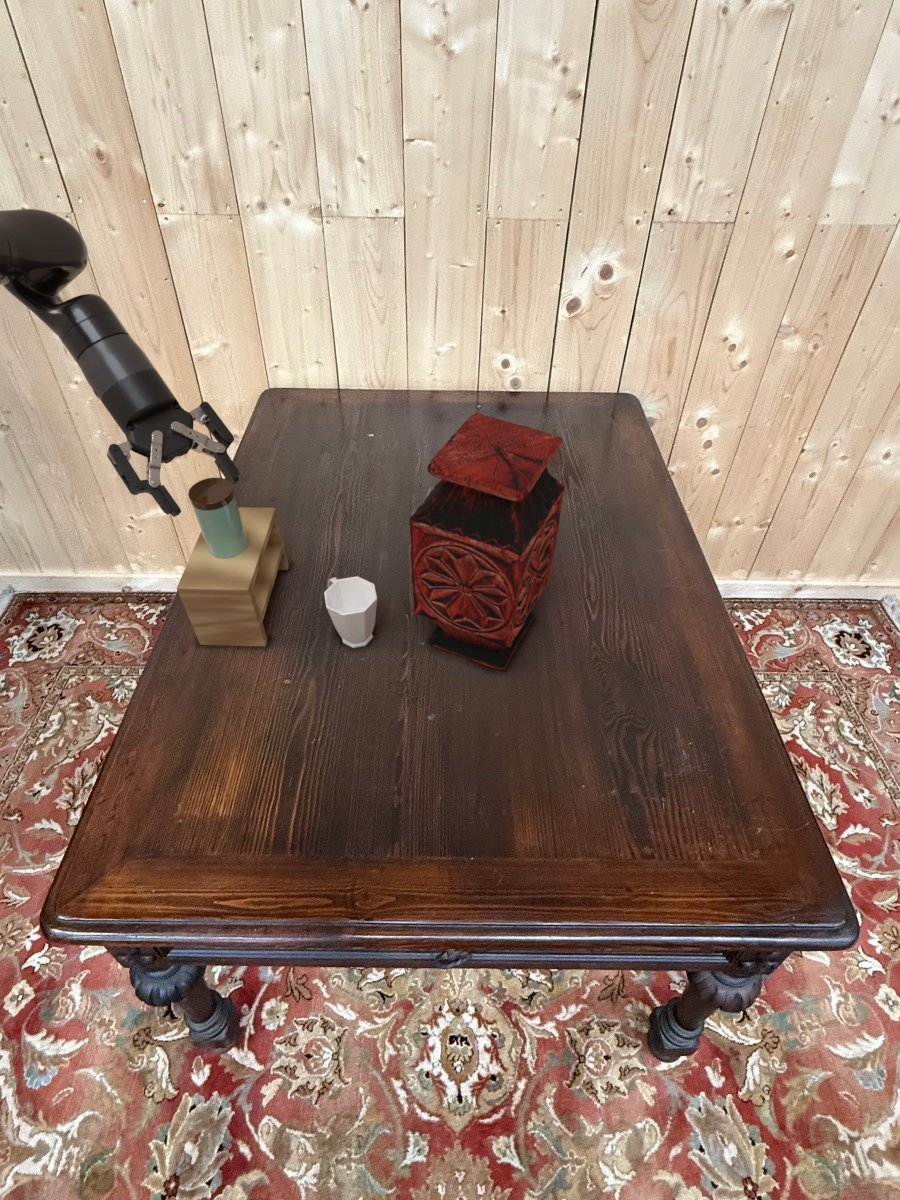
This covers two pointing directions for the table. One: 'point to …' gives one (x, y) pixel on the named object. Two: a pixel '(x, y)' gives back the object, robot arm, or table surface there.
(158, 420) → the robot arm
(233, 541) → the jar
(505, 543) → the red carved wooden box
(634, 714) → the table surface
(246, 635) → the shelf
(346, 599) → the cup
